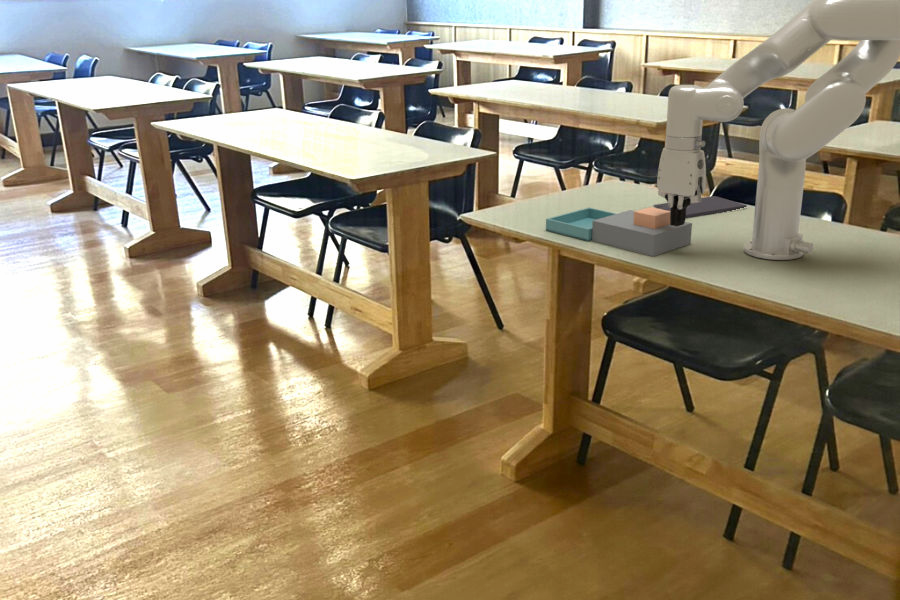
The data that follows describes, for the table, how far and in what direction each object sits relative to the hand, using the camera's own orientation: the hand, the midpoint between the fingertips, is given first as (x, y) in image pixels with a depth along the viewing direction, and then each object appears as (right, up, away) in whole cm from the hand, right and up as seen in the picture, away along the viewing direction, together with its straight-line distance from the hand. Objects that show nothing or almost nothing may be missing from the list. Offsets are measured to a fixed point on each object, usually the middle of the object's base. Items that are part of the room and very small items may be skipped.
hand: (677, 224), depth 195 cm
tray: (-17, +1, +21) cm, 27 cm away
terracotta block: (-4, +1, +6) cm, 7 cm away
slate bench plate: (-6, -3, +10) cm, 12 cm away
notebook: (+16, +7, +38) cm, 41 cm away
